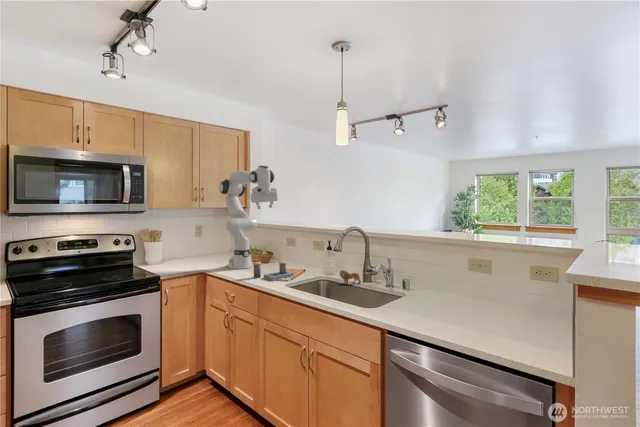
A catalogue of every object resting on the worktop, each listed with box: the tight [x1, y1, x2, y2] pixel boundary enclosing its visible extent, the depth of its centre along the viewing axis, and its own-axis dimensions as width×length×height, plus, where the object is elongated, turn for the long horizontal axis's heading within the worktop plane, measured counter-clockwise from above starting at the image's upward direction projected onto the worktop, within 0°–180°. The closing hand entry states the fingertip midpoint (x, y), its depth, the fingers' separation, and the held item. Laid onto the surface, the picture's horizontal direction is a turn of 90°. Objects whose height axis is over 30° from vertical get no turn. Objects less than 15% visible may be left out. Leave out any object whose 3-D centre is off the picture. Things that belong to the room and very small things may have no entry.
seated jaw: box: [278, 261, 288, 274], centre depth 227 cm, size 6×6×10 cm
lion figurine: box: [339, 269, 362, 285], centre depth 206 cm, size 15×5×9 cm, turn 110°
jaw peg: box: [252, 261, 262, 279], centre depth 225 cm, size 6×6×10 cm
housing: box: [263, 270, 295, 282], centre depth 224 cm, size 11×17×2 cm, turn 135°
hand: (264, 208), depth 236 cm, fingers open, 8 cm apart
